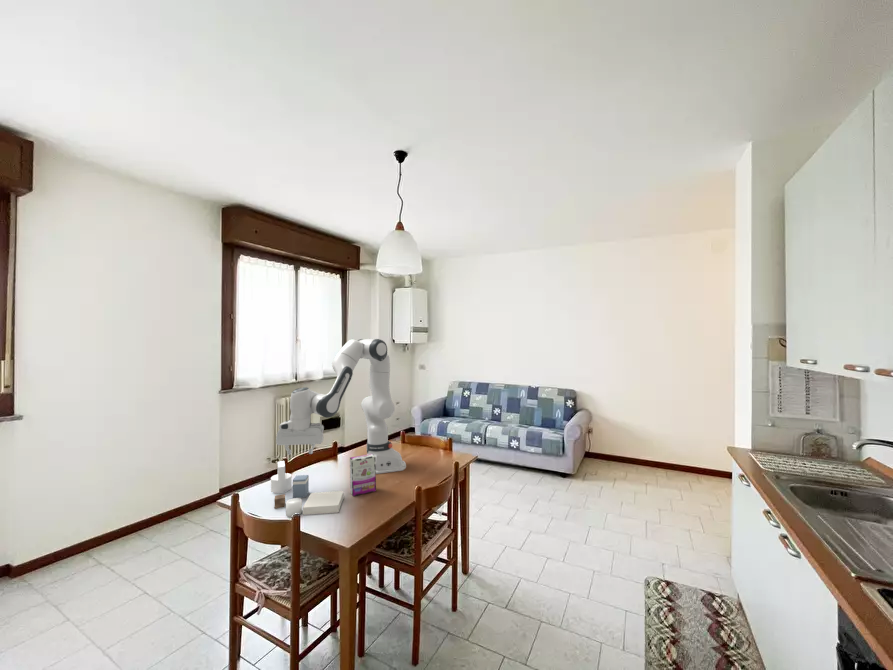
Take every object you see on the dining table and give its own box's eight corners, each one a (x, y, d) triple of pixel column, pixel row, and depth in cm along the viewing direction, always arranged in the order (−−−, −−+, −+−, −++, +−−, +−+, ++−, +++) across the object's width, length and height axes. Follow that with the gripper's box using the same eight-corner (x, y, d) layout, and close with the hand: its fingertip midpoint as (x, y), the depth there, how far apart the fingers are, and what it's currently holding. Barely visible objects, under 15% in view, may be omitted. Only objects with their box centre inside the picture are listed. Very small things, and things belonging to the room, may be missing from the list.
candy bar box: (373, 487, 174) (373, 453, 174) (376, 491, 169) (376, 456, 169) (349, 492, 168) (349, 456, 169) (352, 496, 164) (351, 460, 164)
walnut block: (285, 503, 158) (285, 494, 158) (284, 507, 155) (284, 497, 155) (275, 504, 157) (275, 495, 157) (274, 508, 153) (274, 499, 153)
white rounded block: (303, 509, 152) (303, 497, 152) (299, 516, 146) (299, 504, 146) (288, 510, 151) (288, 498, 151) (284, 517, 145) (283, 505, 145)
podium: (343, 497, 163) (343, 490, 163) (338, 512, 149) (338, 505, 149) (311, 499, 161) (311, 492, 161) (302, 514, 147) (302, 507, 147)
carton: (308, 492, 169) (308, 474, 170) (305, 497, 164) (305, 479, 164) (296, 492, 169) (296, 475, 169) (292, 498, 163) (292, 480, 163)
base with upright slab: (292, 490, 171) (292, 465, 171) (270, 494, 167) (270, 468, 167) (291, 484, 179) (290, 459, 179) (270, 487, 175) (270, 462, 175)
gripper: (325, 421, 171) (324, 451, 171) (279, 422, 168) (279, 452, 168) (322, 424, 165) (322, 455, 164) (274, 425, 162) (274, 456, 162)
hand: (300, 453), depth 166 cm, fingers open, 8 cm apart
